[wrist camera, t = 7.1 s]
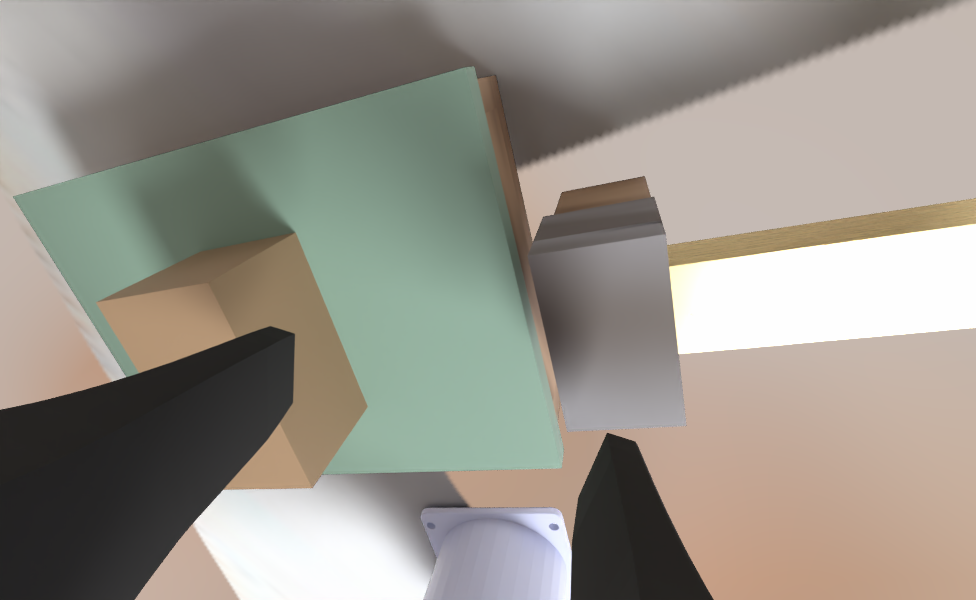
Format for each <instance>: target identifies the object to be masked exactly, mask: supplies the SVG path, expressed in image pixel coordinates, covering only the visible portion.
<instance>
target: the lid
mask: <svg viewBox="0 0 976 600" xmlns="http://www.w3.org/2000/svg"><path fill="white" fill-rule="evenodd" d="M13 198H14V199H15V201H16V202H17V204H18V206H19V207H20V209H21V210H22V212H23V213H24V215H25V217H26V218H27V220H28V221H29V223H30V225H31V226H32V228H33V229H34V231H35V232H36V234H37V236H38V237H39V239H40V240H41V242H42V244H43V245H44V247H45V248H46V250H47V252H48V253H49V255H50V256H51V258H52V259H53V261H54V263H55V264H56V266H57V267H58V269H59V271H60V272H61V274H62V275H63V277H64V278H65V280H66V282H67V283H68V285H69V286H70V288H71V290H72V291H73V293H74V294H75V296H76V298H77V299H78V301H79V302H80V304H81V305H82V307H83V309H84V310H85V312H86V313H87V315H88V317H89V318H90V320H91V321H92V323H93V325H94V326H95V328H96V329H97V331H98V332H99V334H100V336H101V337H102V339H103V340H104V342H105V344H106V345H107V347H108V348H109V350H110V351H111V353H112V355H113V356H114V358H115V359H116V361H117V363H118V364H119V366H120V367H121V369H122V371H123V372H124V374H125V375H126V377H129V376H132V375H135V374H138V373H141V372H144V371H147V370H150V369H153V368H156V367H159V366H162V365H165V364H168V363H171V362H173V361H176V360H179V359H182V358H184V357H187V356H190V355H192V354H195V353H198V352H200V351H203V350H206V349H208V348H211V347H214V346H216V345H219V344H222V343H224V342H227V341H230V340H232V339H235V338H238V337H240V336H243V335H246V334H248V333H251V332H254V331H257V330H259V329H263V328H266V327H269V326H272V327H275V328H279V329H282V330H285V331H288V332H291V333H294V334H295V356H294V391H293V404H292V405H291V407H290V408H289V410H288V411H287V413H286V414H285V416H284V417H283V419H282V420H281V422H280V423H279V425H278V426H277V427H276V429H275V430H274V432H273V433H272V434H271V436H270V437H269V439H268V440H267V441H266V442H265V443H264V444H263V446H262V447H261V448H260V449H259V450H258V451H257V452H256V454H255V455H254V456H253V457H252V458H251V459H250V460H249V461H248V463H247V464H246V465H245V466H244V467H243V468H242V469H241V470H240V472H239V473H238V474H237V475H236V476H235V477H234V478H233V479H232V480H231V481H230V483H229V484H228V485H227V486H226V487H225V488H224V489H223V490H227V489H286V488H313V486H314V485H315V484H316V482H317V481H318V479H319V478H320V476H321V475H324V474H362V473H399V472H437V471H475V470H512V469H547V468H562V461H563V452H564V448H563V443H562V439H561V434H560V430H559V426H558V421H557V417H556V413H555V409H554V404H553V400H552V396H551V392H550V387H549V383H548V379H547V374H546V370H545V366H544V362H543V357H542V353H541V349H540V345H539V340H538V336H537V332H536V327H535V323H534V319H533V315H532V310H531V306H530V302H529V298H528V293H527V289H526V285H525V280H524V276H523V272H522V268H521V263H520V259H519V255H518V251H517V246H516V242H515V238H514V233H513V229H512V225H511V221H510V216H509V212H508V208H507V204H506V199H505V195H504V191H503V186H502V182H501V178H500V174H499V169H498V165H497V161H496V157H495V152H494V148H493V144H492V139H491V135H490V131H489V127H488V122H487V118H486V114H485V110H484V105H483V101H482V97H481V93H480V88H479V84H478V80H477V75H476V71H475V67H474V66H472V67H464V68H461V69H457V70H454V71H450V72H447V73H443V74H440V75H436V76H433V77H429V78H426V79H422V80H419V81H415V82H412V83H408V84H405V85H401V86H398V87H394V88H391V89H387V90H384V91H380V92H377V93H373V94H370V95H366V96H363V97H359V98H356V99H352V100H349V101H345V102H342V103H338V104H335V105H331V106H328V107H324V108H321V109H317V110H314V111H310V112H307V113H303V114H300V115H296V116H293V117H289V118H286V119H282V120H279V121H275V122H272V123H268V124H265V125H261V126H258V127H254V128H251V129H247V130H244V131H240V132H237V133H233V134H230V135H226V136H223V137H219V138H216V139H212V140H209V141H205V142H202V143H199V144H195V145H192V146H188V147H185V148H181V149H178V150H174V151H171V152H167V153H164V154H160V155H157V156H153V157H150V158H146V159H143V160H139V161H136V162H132V163H129V164H125V165H122V166H118V167H115V168H111V169H108V170H104V171H101V172H97V173H94V174H90V175H87V176H83V177H80V178H76V179H73V180H69V181H66V182H62V183H59V184H55V185H52V186H48V187H45V188H41V189H38V190H34V191H31V192H27V193H24V194H20V195H17V196H13Z"/></svg>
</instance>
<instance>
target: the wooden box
mask: <svg viewBox="0 0 976 600" xmlns="http://www.w3.org/2000/svg"><path fill="white" fill-rule="evenodd" d="M477 80H478V84H479V88H480V93H481V97H482V101H483V105H484V110H485V114H486V118H487V122H488V127H489V131H490V135H491V139H492V144H493V148H494V152H495V157H496V161H497V165H498V169H499V174H500V178H501V182H502V186H503V191H504V195H505V199H506V204H507V208H508V212H509V216H510V221H511V225H512V229H513V233H514V238H515V242H516V246H517V251H518V255H519V259H520V263H521V268H522V272H523V276H524V280H525V285H526V289H527V293H528V298H529V302H530V306H531V310H532V315H533V319H534V323H535V327H536V332H537V336H538V340H539V345H540V349H541V353H542V357H543V362H544V366H545V370H546V374H547V379H548V383H549V387H550V392H551V396H552V400H553V404H554V409H555V413H556V417H557V421H558V416H559V409H560V402H561V406H562V410H563V414H564V419H565V423H566V428H567V432H571V431H590V430H611V429H633V428H653V427H673V426H686V418H685V408H684V399H683V390H682V381H681V372H680V362H679V353H678V343H677V334H676V325H675V316H674V306H673V297H672V288H671V278H670V269H669V260H668V251H667V241H666V234H665V231H664V227H663V224H662V221H661V217H660V214H659V211H658V208H657V204H656V201H655V198H654V197H651V196H650V193H649V189H648V186H647V182H646V179H645V177H644V176H643V177H638V178H633V179H628V180H622V181H617V182H612V183H607V184H602V185H596V186H592V187H586V188H582V189H576V190H571V191H566V192H562V193H561V196H560V199H559V202H558V205H557V208H556V211H555V213H554V215H550V216H545V217H543V219H542V222H541V224H540V226H539V229H538V231H537V234H536V236H535V239H534V241H533V242H532V238H531V233H530V229H529V224H528V220H527V215H526V210H525V206H524V201H523V197H522V192H521V188H520V183H519V179H518V174H517V169H516V165H515V160H514V156H513V151H512V147H511V142H510V138H509V133H508V128H507V124H506V119H505V115H504V110H503V106H502V101H501V97H500V92H499V88H498V83H497V78H496V75H494V76H489V77H484V78H478V79H477Z"/></svg>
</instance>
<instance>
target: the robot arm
mask: <svg viewBox="0 0 976 600" xmlns="http://www.w3.org/2000/svg"><path fill="white" fill-rule="evenodd" d="M294 356H295V334H294V333H291V332H288V331H285V330H282V329H279V328H275V327H272V326H269V327H266V328H263V329H259V330H257V331H254V332H251V333H248V334H246V335H243V336H240V337H238V338H235V339H232V340H230V341H227V342H224V343H222V344H219V345H216V346H214V347H211V348H208V349H206V350H203V351H200V352H198V353H195V354H192V355H190V356H187V357H184V358H182V359H179V360H176V361H173V362H171V363H168V364H165V365H162V366H159V367H156V368H153V369H150V370H147V371H144V372H141V373H138V374H135V375H132V376H129V377H126V378H123V379H120V380H117V381H113V382H110V383H107V384H103V385H100V386H97V387H93V388H89V389H86V390H83V391H78V392H75V393H71V394H67V395H63V396H59V397H56V398H52V399H48V400H44V401H39V402H35V403H31V404H26V405H21V406H16V407H12V408H7V409H2V410H0V600H135V598H136V597H137V596H138V594H139V593H140V591H141V590H142V589H143V587H144V586H145V584H146V583H147V582H148V580H149V579H150V578H151V576H152V575H153V574H154V572H155V571H156V570H157V568H158V567H159V566H160V564H161V563H162V562H163V560H164V559H165V558H166V556H167V555H168V554H169V552H170V551H171V550H172V548H173V547H174V546H175V544H176V543H177V542H178V540H179V539H180V538H181V537H182V536H183V534H184V533H185V532H186V531H187V530H188V528H189V527H190V526H191V525H192V524H193V522H194V521H195V520H196V519H197V518H198V517H199V516H200V515H201V514H202V512H203V511H204V510H205V509H206V508H207V507H208V506H209V505H210V504H211V502H212V501H213V500H214V499H215V498H216V497H217V496H218V495H219V494H220V493H221V491H222V490H223V489H224V488H225V487H226V486H227V485H228V484H229V483H230V481H231V480H232V479H233V478H234V477H235V476H236V475H237V474H238V473H239V472H240V470H241V469H242V468H243V467H244V466H245V465H246V464H247V463H248V461H249V460H250V459H251V458H252V457H253V456H254V455H255V454H256V452H257V451H258V450H259V449H260V448H261V447H262V446H263V444H264V443H265V442H266V441H267V440H268V439H269V437H270V436H271V434H272V433H273V432H274V430H275V429H276V427H277V426H278V425H279V423H280V422H281V420H282V419H283V417H284V416H285V414H286V413H287V411H288V410H289V408H290V407H291V405H292V404H293V391H294ZM420 518H421V521H422V523H423V526H424V528H425V531H426V533H427V536H428V538H429V541H430V543H431V545H432V548H433V550H434V553H435V555H436V558H437V561H436V564H435V567H434V570H433V573H432V576H431V579H430V582H429V585H428V588H427V591H426V594H425V597H424V599H423V600H713V598H712V596H711V595H710V593H709V591H708V589H707V588H706V586H705V584H704V582H703V580H702V579H701V577H700V575H699V573H698V571H697V570H696V568H695V566H694V564H693V562H692V561H691V559H690V557H689V555H688V553H687V551H686V550H685V547H684V545H683V543H682V541H681V539H680V538H679V535H678V533H677V531H676V529H675V527H674V525H673V523H672V521H671V519H670V517H669V515H668V513H667V511H666V509H665V507H664V504H663V502H662V500H661V498H660V496H659V494H658V491H657V489H656V487H655V485H654V483H653V480H652V478H651V475H650V473H649V471H648V468H647V466H646V464H645V462H644V459H643V457H642V454H641V452H640V450H639V447H638V446H637V444H636V442H634V441H632V440H628V439H625V438H622V437H619V436H616V435H613V434H609V433H607V434H606V437H605V439H604V441H603V443H602V446H601V448H600V450H599V452H598V455H597V457H596V459H595V461H594V464H593V466H592V468H591V471H590V472H589V475H588V477H587V479H586V481H585V484H584V486H583V488H582V491H581V493H580V495H579V498H578V504H577V510H576V517H575V525H574V532H573V539H572V551H571V548H570V543H569V540H568V535H567V532H566V528H565V524H564V520H563V516H562V513H561V512H560V511H559V510H558V509H556V508H552V507H549V508H547V507H530V508H425V509H423V511H422V513H421V515H420ZM553 523H554V524H553Z"/></svg>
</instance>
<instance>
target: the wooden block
mask: <svg viewBox="0 0 976 600" xmlns="http://www.w3.org/2000/svg"><path fill="white" fill-rule="evenodd" d="M667 251H668V260H669V269H670V278H671V288H672V297H673V306H674V316H675V325H676V334H677V343H678V353H679V354H684V353H695V352H706V351H717V350H728V349H739V348H750V347H761V346H773V345H784V344H794V343H806V342H817V341H828V340H840V339H851V338H862V337H873V336H885V335H895V334H907V333H919V332H930V331H940V330H952V329H963V328H974V327H976V198H974V199H968V200H961V201H955V202H948V203H941V204H935V205H928V206H922V207H915V208H909V209H902V210H896V211H889V212H882V213H876V214H869V215H863V216H856V217H849V218H843V219H836V220H830V221H824V222H816V223H810V224H803V225H797V226H791V227H784V228H777V229H770V230H764V231H757V232H751V233H744V234H738V235H731V236H725V237H718V238H712V239H705V240H698V241H691V242H685V243H678V244H672V245H667Z"/></svg>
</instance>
